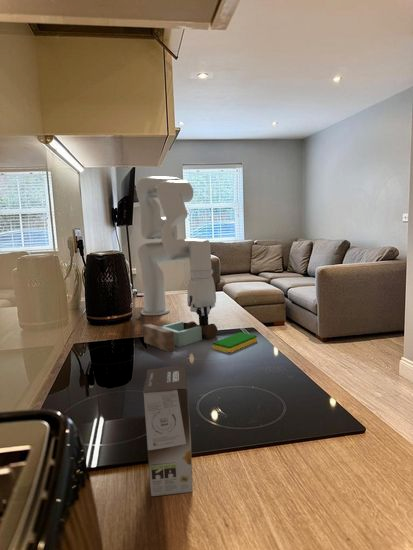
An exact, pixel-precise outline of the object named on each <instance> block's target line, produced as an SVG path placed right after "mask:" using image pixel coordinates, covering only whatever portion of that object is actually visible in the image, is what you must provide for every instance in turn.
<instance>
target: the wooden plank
mask: <svg viewBox="0 0 413 550" xmlns="http://www.w3.org/2000/svg"><path fill="white" fill-rule="evenodd" d="M142 329H143V341H144V343H145V344H147V345H149V344H150V346H152V345H153V346H152V347H154V346H155V347H154V348H157V347H158V348H157V349H159V348H160V350H162V349H163V350H162V351H164V350H165V352H167V351H168V352H167V353H169V352H173V351H175V345H174V333H173V331H171V330H168V329H164V328H161V327H160V326H158V325H155V324H153V323H152V324H151V323H147V324H143V325H142Z"/></svg>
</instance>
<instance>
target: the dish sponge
mask: <svg viewBox="0 0 413 550" xmlns="http://www.w3.org/2000/svg"><path fill="white" fill-rule="evenodd" d="M257 337H258V336H257V335H256V334H253V333H252V334H251V333H247V332H237V333H234V334H232V335H230V336H227V337H224V338H220V339H219V340H216V341H213V342H212V347H213V348H212V350H217V351H220V352H223V351H224V352H223V353H227V352H231V353H233V352H232V351H234V352H235V350H236V351H238V350H241V349H243V348H245V346H246V347H247V345H248V346H250V345H252V344H251V343H253V344H255V343H257V342H258V338H257ZM256 341H257V342H256ZM254 342H255V343H254ZM249 344H250V345H249ZM242 347H243V348H242ZM240 348H241V349H240ZM237 349H238V350H237Z"/></svg>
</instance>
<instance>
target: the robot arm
mask: <svg viewBox="0 0 413 550" xmlns="http://www.w3.org/2000/svg"><path fill="white" fill-rule="evenodd" d="M135 189H136V190H135V191H136V195H137V196H136V197H137V200H138V203H139V207H140V209H139V210H140V231H141V232H140V233H141V236H142V238H143V239H145V240H161V241H151V242H150V241H149V242H144V243H142V244H140V245H139V247H138V249H137V255H138V259H139V263H140V269H141V279H142V280H141V281H142V295H143V302H142V304H141V306H142V307H143V308H144V309H142V310H140V311H141V315H144V316H148V317H149V316H150V317H151V316H152V317H153V316H162V315H165V314H168V313H169V312H170V308H169V307H166V291H165V290H166V289H165V278H164V277H165V275H164V271H163V270H162V268H161V267H160V266H159V264H163V263H165V264H166V263H170V262H174V261H175V262H176V261H178V262H179V261H187V260H189V271H190V279H188V283H187V291H186V292H187V293H186V294H187V295H186V296H187V297H186V298H187V299H186V300H187V302H186V303H187V306H188V307H190V308H189V311H190V312H192V313H196V315H197V316H198V325H202V326H206V325H209V315H210V311H211V310H212V309H213V308H215V307H216V303H217V295H216V294H217V291H216V286H215V281H214V277H213V273H214V270H213V269H212V251H211V242H210V240H209V239H206V238H204V239H200V238H196V237H195V238H180V239H179V238H178V226H177V225H180V224H181V223H182V222H184V221H185V220H186V219H187V218H188V211H187V208H186V205H185V203H189V202H191V201H192V200H193V198H194V189H193V186H192V185H191V183H190V182H189V181H188V180H185V179H181V178H179V177H174V176H143V177H141V178H139V180H138V181H137V183H136V188H135ZM157 198H158V200H159V202H158V201H157ZM161 210H162V212H163V215H164V216H161Z"/></svg>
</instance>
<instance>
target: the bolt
mask: <svg viewBox="0 0 413 550" xmlns="http://www.w3.org/2000/svg"><path fill="white" fill-rule="evenodd" d="M183 325H184V330H186V329H190V328H193V327H197V326H200V327H201V330H202V336H204V338H205V339H206V340H209V341H210V340H214V339H216V338H217V336H218V333H219V331H218V327H217V325H216V324H215V323H208V325H206V326H202V325H199V324H197V323H196V322H195V321H188V322H183Z"/></svg>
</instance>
